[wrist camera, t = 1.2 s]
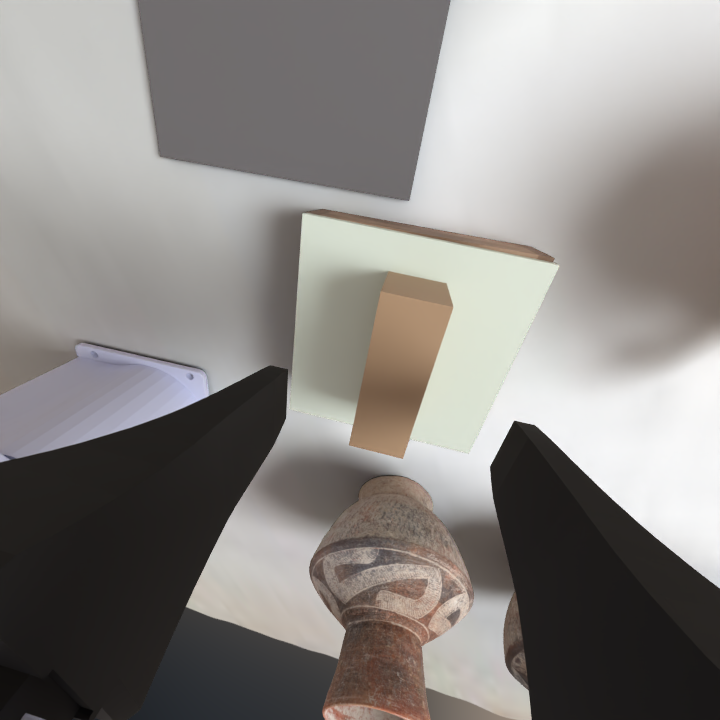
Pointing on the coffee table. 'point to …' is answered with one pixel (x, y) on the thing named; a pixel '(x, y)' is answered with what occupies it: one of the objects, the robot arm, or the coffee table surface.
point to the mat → (296, 86)
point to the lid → (406, 332)
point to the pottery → (394, 600)
